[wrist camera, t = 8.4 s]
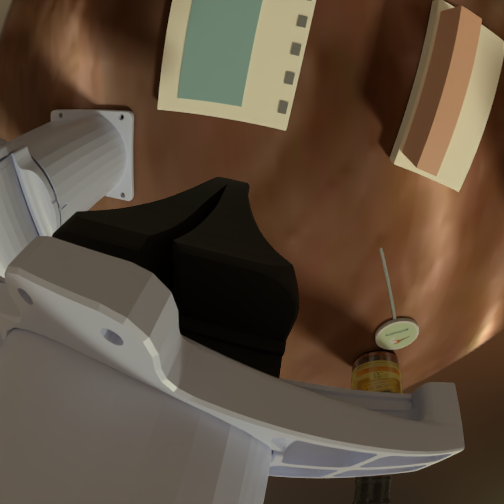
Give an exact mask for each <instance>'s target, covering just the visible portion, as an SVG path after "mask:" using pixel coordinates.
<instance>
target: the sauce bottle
mask: <svg viewBox="0 0 504 504" xmlns="http://www.w3.org/2000/svg"><path fill="white" fill-rule="evenodd" d="M351 389H354V390H363V391H374V392H385V393H400V394H402V387H401V375H400V367H399V364H398V359H397V357H396V355H395V354H393V353H390V352H388V351H374V352H370V353H367V354H363V355H361V356H360V357H359V358H358V359H357V360H356V361H355V362H354V364H353V367H352V375H351ZM391 476H392V474H385V475H374V476H362V477H356V481H355V485H356V488H355V495H354V501H353V503H352V504H390V503H391V502H390V499H389V494H390V482H391Z"/></svg>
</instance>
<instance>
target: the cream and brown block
mask: <svg viewBox="0 0 504 504" xmlns="http://www.w3.org/2000/svg"><path fill="white" fill-rule="evenodd" d="M481 23H482V19H481V18H480V17H478V16H477V15H475V14H474V13H472V12H471V11H469V10H468V9H466V8H465V7H463V6H458V7H454V6H452V5H450V4H449V3H447V2H445V1H443V0H434V1H432V6H431V12H430V17H429V22H428V27H427V32H426V36H425V41H424V45H423V49H422V54H421V58H420V62H419V65H418V69H417V73H416V77H415V80H414V84H413V87H412V91H411V94H410V98H409V101H408V104H407V108H406V111H405V114H404V117H403V120H402V123H401V126H400V129H399V132H398V135H397V138H396V141H395V144H394V147H393V149H392V152H391V155H390V158H389V159H390V160H391V161H392V163H393V164H395V165H397V166H400V167H403V168H405V169H408V170H410V171H413V172H415V173H418V174H420V175H422V176H425V177H427V178H429V179H432V180H434V181H436V182H439V183H441V184H443V185H445V186H447V187H450V188H452V189H454V190H456V191H458V192H459V191H460V189H461V186H462V184H463V182H464V180H465V177H466V175H467V173H468V170H469V168H470V166H471V163H472V161H473V158H474V156H475V153H476V151H477V148H478V145H479V143H480V140H481V137H482V134H483V132H484V129H485V126H486V123H487V120H488V117H489V113H490V110H491V107H492V103H493V100H494V96H495V93H496V89H497V85H498V81H499V77H500V72H501V68H502V63H503V58H504V41H503V40H502V39H501V38H499V37H498V36H497V35H495V34H494V33H493V32H491V31H490V30H489V29H487V28H486V27H485V26H483V25H482V24H481Z"/></svg>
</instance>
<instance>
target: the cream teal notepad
mask: <svg viewBox="0 0 504 504" xmlns="http://www.w3.org/2000/svg"><path fill="white" fill-rule="evenodd" d="M315 3H316V0H172V4H171V10H170V15H169V21H168V26H167V32H166V39H165V45H164V53H163V60H162V68H161V77H160V86H159V97H158V110H168V111H177V112H186V113H193V114H201V115H208V116H214V117H220V118H226V119H232V120H238V121H243V122H248V123H253V124H258V125H263V126H267V127H272V128H276V129H281V130H285V131H286V129H287V125H288V121H289V117H290V113H291V108H292V104H293V100H294V95H295V91H296V87H297V82H298V78H299V74H300V69H301V65H302V61H303V56H304V52H305V47H306V43H307V39H308V34H309V30H310V25H311V21H312V17H313V12H314V8H315Z"/></svg>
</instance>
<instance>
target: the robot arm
mask: <svg viewBox="0 0 504 504" xmlns="http://www.w3.org/2000/svg"><path fill="white" fill-rule="evenodd" d="M62 115H63V116H62ZM121 115H123V116H124V119H122V118H121ZM133 131H134V114H133V113H132V112H131V111H125V110H102V109H58V110H53V111H52V112H51V122H48V123H46V124H44V125H42V126H40V127H37V128H35V129H33V130H31V131H29V132H27V133H25V134H23V135H21V136H19V137H17V138H15V139H13V140H11V141H6V140H4V139H2V138H0V504H263V502H264V496H265V491H266V486H267V480H268V476H278V477H296V478H344V477H362V476H374V475H385V474H393V473H394V474H395V473H404V472H412V471H417V470H419V469H422V468H425V467H427V466H429V465H432V464H434V463H437V462H439V461H441V460H444V459H445V458H448V457H450V456H452V455H454V454H456V453H459V452H460V451H463V449H464V448H465V447H464V437H463V430H462V423H461V415H460V409H459V404H458V398H457V393H456V388H455V384H454V383H443V382H442V383H441V382H429V383H426V384H423V385H422V386H420V387H419V388H417V389H416V390H415V391H414V392H413V393H412V394H400V393H385V392H374V391H363V390H354V389H346V388H338V387H331V386H324V385H317V384H311V383H305V382H299V381H293V380H288V379H283V378H279V375H280V368H281V360H282V356H283V354H284V352H285V345H286V339H287V337H288V335H289V333H290V331H291V329H292V327H293V325H294V322H295V320H296V318H297V314H298V310H299V295H298V287H297V280H296V276H295V271H294V267H293V265H292V264H291V263H289V262H288V261H287V260H286V259H285V258H283V257H282V256H281V255H280V254H278V253H277V252H276V251H275V250H274V249H273V247H272V246H271V245H270V244H269V243H268V242H267V241H266V239H265V238H264V236H263V235H262V233H261V232H260V230H259V228H258V226H257V224H256V222H255V220H254V217H253V214H252V211H251V208H250V203H249V198H248V193H249V187H250V186H249V185H248V183H245V182H241V181H236V180H232V179H227V178H222V177H216V178H213V179H211V180H209V181H207V182H204V183H202V184H200V185H198V186H196V187H193V188H191V189H189V190H186V191H184V192H181V193H179V194H176V195H174V196H171V197H168V198H165V199H162V200H158V201H155V202H151V203H146V204H142V205H137V206H132V207H126V208H120V209H111V210H99V211H87V210H88V209H90V208H91V207H92V206H93V205H94V204H95V203H96V202H98V201H99V200H100V199H101V198H102V197H103V196H108V197H112V198H117V199H122V200H126V201H130V200H132V199H133V197H134V181H133ZM122 192H123V193H124V194H125V195H123V193H122Z"/></svg>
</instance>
